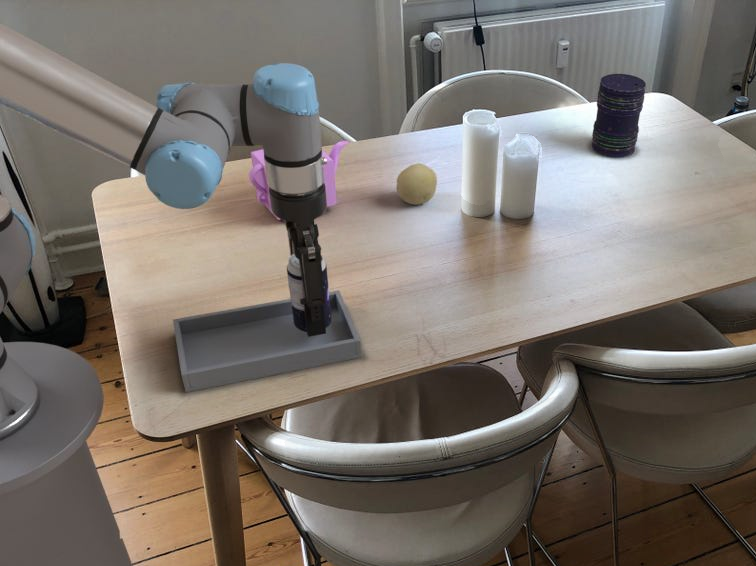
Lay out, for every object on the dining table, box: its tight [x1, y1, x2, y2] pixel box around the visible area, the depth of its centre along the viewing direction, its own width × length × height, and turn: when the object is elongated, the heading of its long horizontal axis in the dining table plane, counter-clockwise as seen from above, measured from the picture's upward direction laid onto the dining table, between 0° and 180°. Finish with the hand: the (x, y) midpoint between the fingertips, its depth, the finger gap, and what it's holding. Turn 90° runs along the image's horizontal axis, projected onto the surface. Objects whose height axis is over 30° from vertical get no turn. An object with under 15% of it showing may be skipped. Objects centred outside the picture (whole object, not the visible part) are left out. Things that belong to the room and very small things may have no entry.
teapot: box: [248, 140, 350, 222], centre depth 156 cm, size 20×10×12 cm, turn 123°
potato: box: [395, 163, 438, 205], centre depth 160 cm, size 8×8×8 cm
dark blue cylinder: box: [590, 73, 647, 159], centre depth 180 cm, size 10×10×15 cm
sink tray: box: [172, 290, 362, 393], centre depth 126 cm, size 26×14×3 cm, turn 111°
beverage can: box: [286, 254, 332, 333], centre depth 123 cm, size 6×6×12 cm
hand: (312, 321), depth 127 cm, fingers closed on beverage can, 6 cm apart
